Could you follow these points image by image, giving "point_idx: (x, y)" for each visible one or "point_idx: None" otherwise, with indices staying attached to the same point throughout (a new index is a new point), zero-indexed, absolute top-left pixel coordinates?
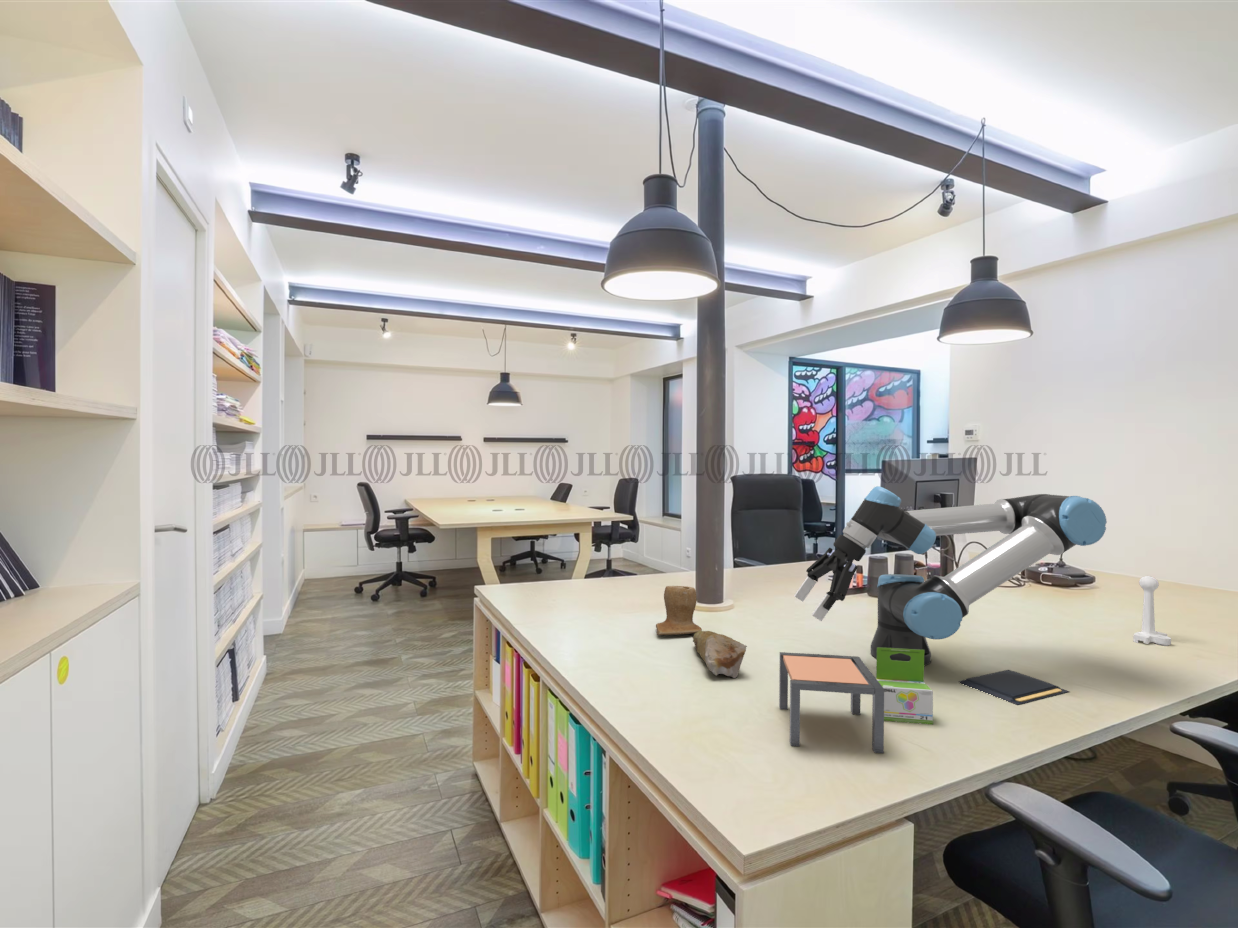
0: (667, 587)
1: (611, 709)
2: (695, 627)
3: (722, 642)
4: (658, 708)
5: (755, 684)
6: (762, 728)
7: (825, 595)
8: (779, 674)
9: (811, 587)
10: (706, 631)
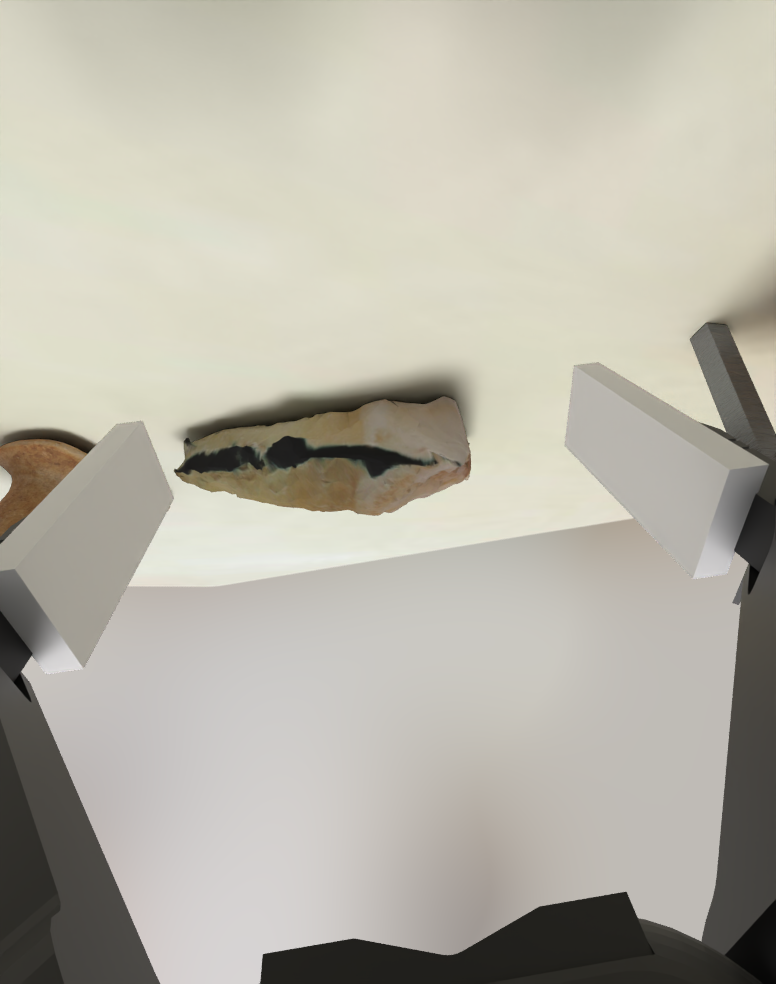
0: None
1: (557, 526)
2: (64, 462)
3: (409, 494)
4: (578, 496)
5: (512, 364)
6: (772, 391)
7: (683, 560)
8: (722, 420)
9: (76, 520)
10: (289, 506)
